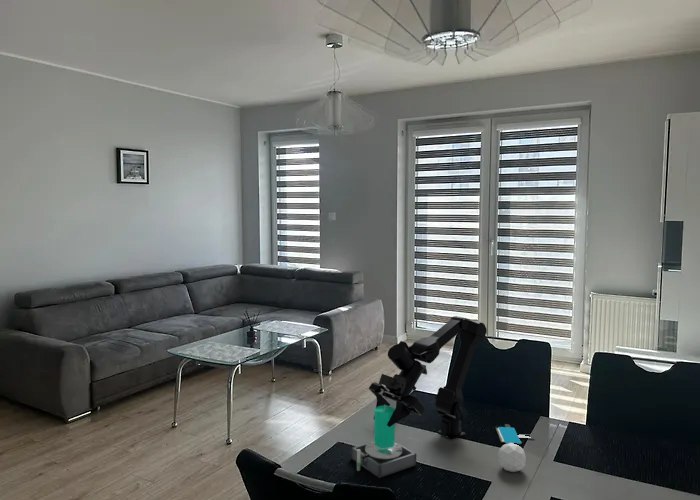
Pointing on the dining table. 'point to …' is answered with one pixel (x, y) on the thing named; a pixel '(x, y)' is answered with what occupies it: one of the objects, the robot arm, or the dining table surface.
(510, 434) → the phone stand
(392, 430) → the candle
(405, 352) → the robot arm
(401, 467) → the scale housing
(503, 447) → the geometric ball
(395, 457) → the scale pan
